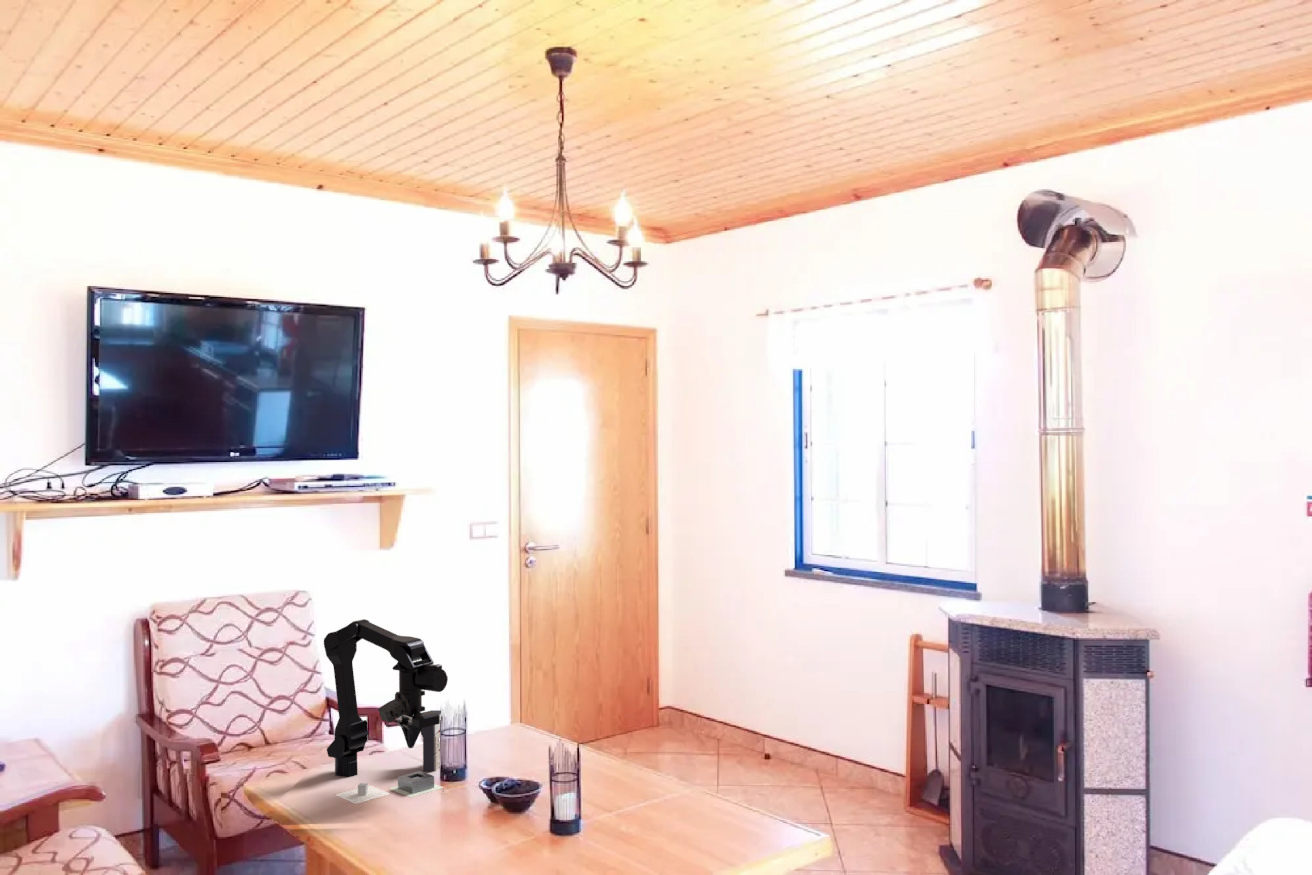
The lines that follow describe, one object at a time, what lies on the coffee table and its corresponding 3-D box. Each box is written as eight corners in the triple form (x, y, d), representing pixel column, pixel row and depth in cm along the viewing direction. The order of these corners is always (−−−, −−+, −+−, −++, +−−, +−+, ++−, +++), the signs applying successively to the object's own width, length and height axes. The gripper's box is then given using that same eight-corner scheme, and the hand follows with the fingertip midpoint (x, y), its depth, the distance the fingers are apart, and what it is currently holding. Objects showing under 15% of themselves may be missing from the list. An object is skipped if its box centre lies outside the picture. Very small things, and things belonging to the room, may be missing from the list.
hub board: (389, 792, 263) (389, 778, 263) (422, 782, 270) (422, 769, 270) (410, 801, 256) (410, 787, 256) (443, 791, 263) (443, 777, 263)
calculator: (436, 775, 277) (436, 720, 277) (420, 775, 277) (420, 720, 277) (445, 762, 288) (445, 709, 288) (430, 762, 288) (430, 709, 288)
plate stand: (334, 798, 258) (334, 784, 258) (369, 788, 265) (369, 775, 266) (355, 807, 251) (355, 793, 251) (390, 797, 259) (390, 783, 259)
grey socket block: (398, 788, 263) (397, 776, 263) (419, 782, 268) (419, 770, 268) (412, 793, 258) (412, 782, 258) (434, 787, 263) (434, 775, 263)
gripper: (364, 687, 266) (364, 747, 265) (403, 699, 253) (403, 761, 253) (401, 680, 274) (401, 738, 274) (440, 691, 261) (441, 752, 261)
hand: (410, 747), depth 265 cm, fingers closed
